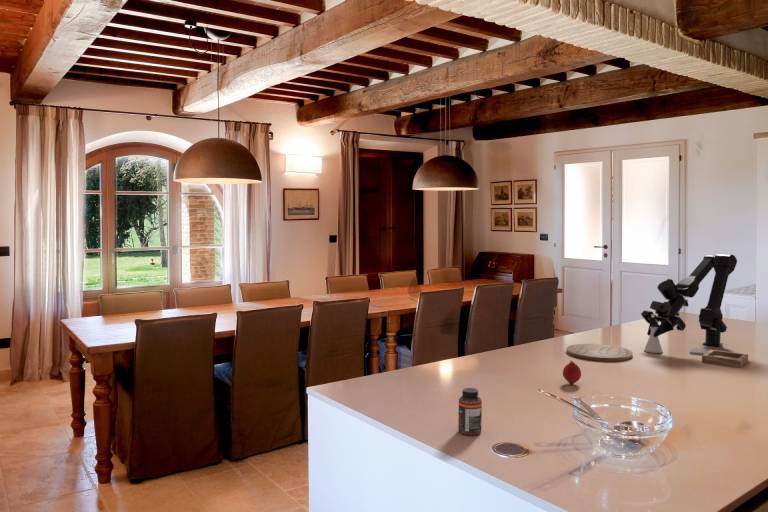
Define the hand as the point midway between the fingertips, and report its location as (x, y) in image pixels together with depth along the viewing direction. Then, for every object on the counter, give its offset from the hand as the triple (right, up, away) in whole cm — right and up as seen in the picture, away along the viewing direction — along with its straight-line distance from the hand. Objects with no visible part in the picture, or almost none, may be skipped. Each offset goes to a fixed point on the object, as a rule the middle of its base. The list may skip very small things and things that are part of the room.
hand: (651, 335), depth 254 cm
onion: (-46, -10, -46) cm, 66 cm away
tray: (+22, -8, -15) cm, 28 cm away
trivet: (-22, -7, -4) cm, 24 cm away
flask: (+1, -7, +1) cm, 7 cm away
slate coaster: (+21, -7, -1) cm, 22 cm away
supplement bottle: (-86, -14, -91) cm, 126 cm away
